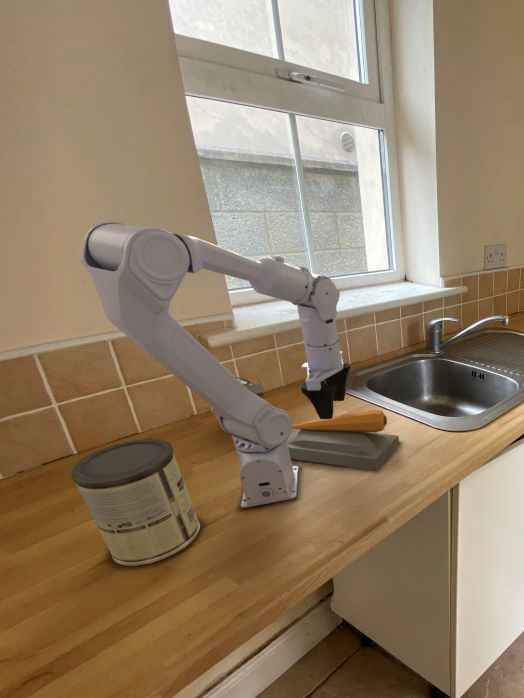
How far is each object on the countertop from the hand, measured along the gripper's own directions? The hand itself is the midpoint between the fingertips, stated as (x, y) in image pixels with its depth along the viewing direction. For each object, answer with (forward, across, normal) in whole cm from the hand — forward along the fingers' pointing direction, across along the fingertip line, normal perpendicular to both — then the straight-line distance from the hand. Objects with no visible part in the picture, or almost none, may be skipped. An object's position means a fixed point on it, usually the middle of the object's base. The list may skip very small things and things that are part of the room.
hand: (332, 409), depth 86 cm
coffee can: (+8, +26, -18) cm, 33 cm away
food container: (+8, -10, -23) cm, 26 cm away
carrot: (+5, 0, 0) cm, 5 cm away
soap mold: (+8, +2, +1) cm, 9 cm away
